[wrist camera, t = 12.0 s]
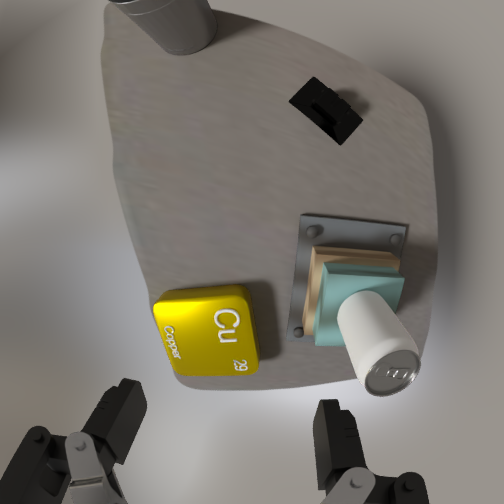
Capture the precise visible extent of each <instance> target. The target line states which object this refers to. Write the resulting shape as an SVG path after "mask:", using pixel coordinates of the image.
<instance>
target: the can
mask: <svg viewBox="0 0 504 504" xmlns="http://www.w3.org/2000/svg"><path fill="white" fill-rule="evenodd" d="M337 321H338V325H339V328H340V331H341V334H342V336H343V339H344V342H345V345H346V348H347V350H348V353H349V356H350V359H351V362H352V365H353V367H354V370H355V373H356V376H357V378H358V380H359V382H360V383H361V384H362V385H363V386H365V388H366V390H367V391H368V392H369V393H370V394H372V395H374V396H380V397H383V396H389V395H393V394H395V393H398V392H400V391H401V390H403V389H405V388H406V387H407V386H408V385H410V384H411V383H412V381H413V380H414V379H415V378H416V376H417V375H418V373H419V370H420V366H421V361H420V357H419V356H418V348H417V345H416V343H415V342H414V340H413V339H412V337H411V336H410V334H409V333H408V331H407V330H406V329H405V327H404V326H403V324H402V323H401V322H400V320H399V319H398V318H397V316H396V315H395V314H394V312H393V311H392V309H391V308H390V307H389V306H388V304H387V303H386V302H385V300H384V299H383V298H382V297H381V296H380V295H379V294H378V293H376V292H373V291H360V292H357V293H354V294H353V295H351V296H349V297H348V298H347V299H346V300H345V301H344V302H343V303H342V305H341V306H340V308H339V311H338V316H337Z"/></svg>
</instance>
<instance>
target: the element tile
mask: <svg viewBox="0 0 504 504" xmlns="http://www.w3.org/2000/svg"><path fill="white" fill-rule="evenodd" d="M153 314H154V317H155V320H156V323H157V326H158V329H159V332H160V335H161V338H162V341H163V343H164V346H165V349H166V352H167V355H168V357H169V360H170V362H171V365H172V367H173V369H174V370H175V371H176V372H177V373H178V374H180V375H183V376H238V375H251V374H253V373H255V372H256V371H257V370H258V368H259V359H260V348H259V342H258V336H257V330H256V325H255V319H254V313H253V307H252V301H251V295H250V292H249V291H248V289H247V288H245V287H244V286H242V285H237V284H233V285H223V286H213V287H202V288H191V289H179V290H169V291H166V292H164V293H163V294H162V295H161V296H160V298H159V299H158V300H157V301H156V302H155V304H154V306H153Z"/></svg>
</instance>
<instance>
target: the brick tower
mask: <svg viewBox="0 0 504 504" xmlns="http://www.w3.org/2000/svg"><path fill="white" fill-rule="evenodd" d="M405 230H406V227H405V226H401V225H394V224H385V223H377V222H368V221H359V220H350V219H340V218H330V217H320V216H309V215H300V225H299V236H298V246H297V255H296V264H295V273H294V282H293V290H292V298H291V306H290V314H289V321H288V328H287V335H286V341H300V342H315V345H316V346H346V345H345V342H344V339H343V336H342V334H341V331H340V328H339V325H338V321H337V316H338V311H339V308H340V306H341V305H342V303H343V302H344V301H345V300H346V299H347V298H348V297H349V296H351V295H353V294H354V293H357V292H360V291H373V292H376V293H378V294H379V295H380V296H381V297H382V298H383V299H384V300H385V302H386V303H387V304H388V306H389V307H390V308H391V309H392V311H393V312H394V314H396V310H397V307H398V303H399V299H400V296H401V292H402V288H403V284H404V280H405V278H404V277H403V276H402V275H401V274H400V273H399V272H398V271H399V267H400V262H401V261H400V257H401V252H402V247H403V241H404V236H405Z"/></svg>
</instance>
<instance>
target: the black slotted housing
mask: <svg viewBox="0 0 504 504" xmlns="http://www.w3.org/2000/svg"><path fill="white" fill-rule="evenodd" d="M338 96H339V95H338V94H336V93H335V92H334V91H333V90H332V89H331V88H328V87H326V86H325V85H324V84H323V83H322V82H320V81H319V80H318V79H317V78H315V77H312V78H311V79H310V80H309V81H308V82H307V83H306V84H305V85H304V86H303V87H302V88H301V89H300V90H299V91H298V92H297V93H296V94H295V95H294V96H293V97H292V98H291V99H290V100H289V103H291V104H292V105H293V106H294V107H296V108H297V109H298V110H299V111H301V112H302V113H303V114H304V115H305V116H307V117H308V118H309V119H310V120H312V121H313V122H314V123H315V124H316V125H317V126H319V127H320V128H321V129H322V130H323V131H324V132H325V133H327V134H328V135H329V136H330V137H331V138H332V139H333V140H334V141H336V142H337V143H338V144H339V145H342V144H343V143H344V142H345V141H346V139H347V138H348V137H349V136H350V135H351V134H352V133H353V132H354V130H355V129H356V128H357V127H358V126H359V125H360V124H361V123H362V121H363V119H362V118H361V117H360V116H359V115H358V114H357V113H356V112H355V111H353V110H352V109H351V108H350V107H351V106H350V105H349V104H348V103H347V102H346V101H344V100H343V99H340V98H339V97H338Z"/></svg>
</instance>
